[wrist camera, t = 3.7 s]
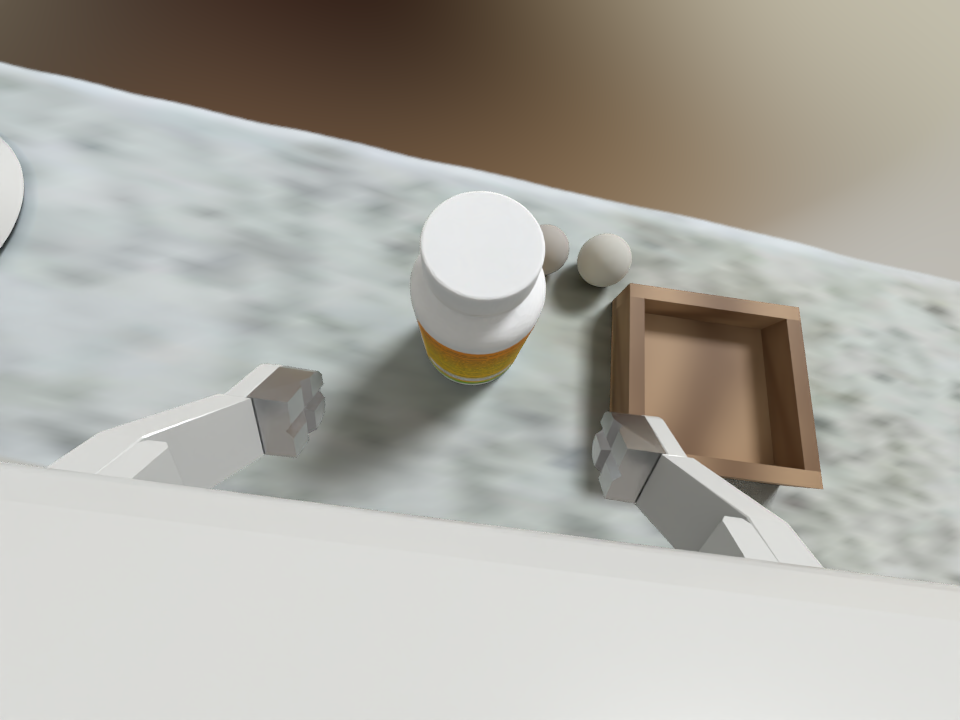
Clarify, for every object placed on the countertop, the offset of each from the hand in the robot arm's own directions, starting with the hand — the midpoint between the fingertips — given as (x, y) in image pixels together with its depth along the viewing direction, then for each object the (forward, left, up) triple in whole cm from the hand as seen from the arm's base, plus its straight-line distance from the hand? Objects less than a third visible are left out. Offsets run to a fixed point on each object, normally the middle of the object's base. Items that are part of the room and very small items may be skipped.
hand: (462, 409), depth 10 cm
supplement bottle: (0, +5, -9) cm, 11 cm away
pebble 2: (+7, +11, -9) cm, 16 cm away
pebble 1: (+3, +11, -9) cm, 15 cm away
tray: (+13, +4, -9) cm, 16 cm away
